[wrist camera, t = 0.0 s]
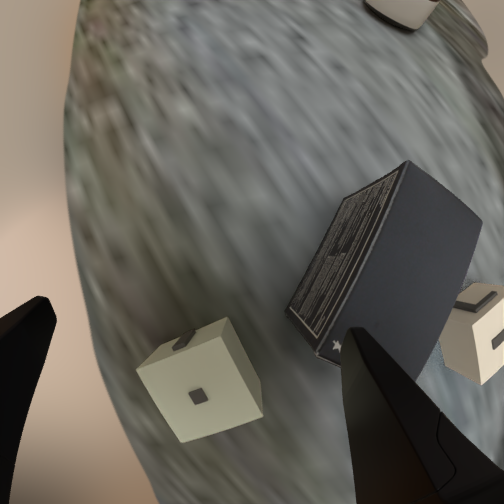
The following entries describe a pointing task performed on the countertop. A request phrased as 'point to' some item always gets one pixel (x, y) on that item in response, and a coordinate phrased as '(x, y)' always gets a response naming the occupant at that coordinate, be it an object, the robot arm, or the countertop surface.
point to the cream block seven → (475, 333)
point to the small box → (388, 268)
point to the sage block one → (203, 382)
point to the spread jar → (403, 11)
